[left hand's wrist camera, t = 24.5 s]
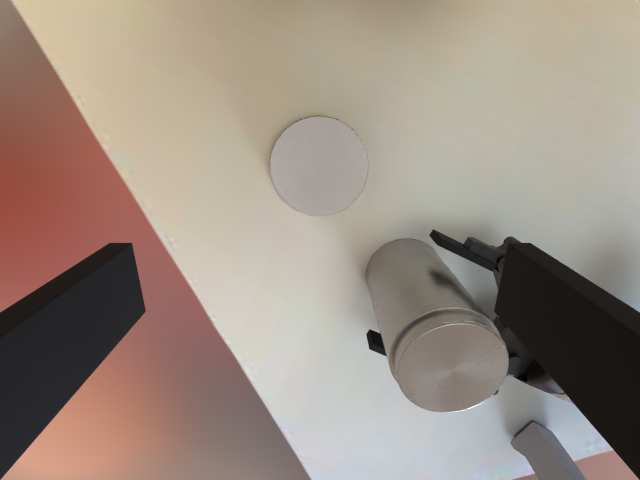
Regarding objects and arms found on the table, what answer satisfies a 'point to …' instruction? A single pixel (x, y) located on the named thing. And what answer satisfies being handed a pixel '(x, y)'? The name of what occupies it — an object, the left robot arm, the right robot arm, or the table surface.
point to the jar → (433, 329)
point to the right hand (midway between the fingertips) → (400, 290)
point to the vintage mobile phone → (546, 454)
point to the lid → (319, 166)
